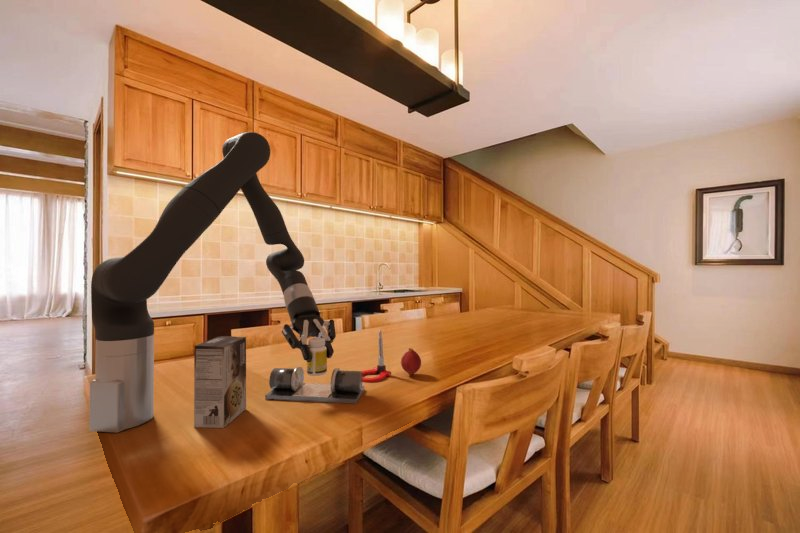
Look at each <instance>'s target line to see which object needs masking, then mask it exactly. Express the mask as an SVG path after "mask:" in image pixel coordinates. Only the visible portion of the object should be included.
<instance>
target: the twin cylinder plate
mask: <svg viewBox="0 0 800 533" xmlns="http://www.w3.org/2000/svg"><path fill="white" fill-rule="evenodd" d="M362 371H363V370H362ZM362 371H361V370H341V369H340V368H338V367H337V368H336V367H335V368H333V370H332V373H331V377H330V383H316V382H315V383H314V382H313V383H312V382H305V383H304V381H305V380H304V378H305V373H304V372H305V371H304V369H303V367H302V366H296V367H295V368H285V367H283V368H282V367H274V368H273V369H272V370H271V372H270V376H269V379H268V381H269V383H268V385H269V388H270V389H271V390H270V391H269V392H267V393H265V395H264V400H269V399H274V400H275V401H294V402H309V403H310V402H311V403H312V402H314V403H315V402H316V403H333V404H334V403H335V404H353V405H355V404H357V403H358V401H359V399H360V398H361V396H362V394H363V393H364V391H365V385H363V383H364V382H363V377H364V375H362ZM274 400H273V401H274Z"/></svg>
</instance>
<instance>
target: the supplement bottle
mask: <svg viewBox="0 0 800 533" xmlns="http://www.w3.org/2000/svg"><path fill="white" fill-rule="evenodd" d="M307 345H308V346H309V348H310V351H311V354H312V360H311V362H307V361H306V374H307V375H308V376H310V377H318V376H324V375H326V374H327V372H328V358H327V348H326V346H324V345H325V339H324V338H316V337H311V338H308V340H307Z"/></svg>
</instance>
